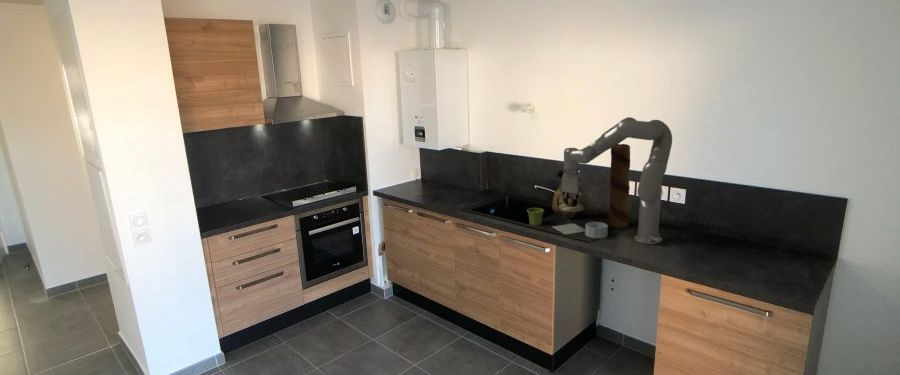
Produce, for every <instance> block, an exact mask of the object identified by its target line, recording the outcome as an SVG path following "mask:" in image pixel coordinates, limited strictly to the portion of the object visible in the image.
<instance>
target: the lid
mask: <svg viewBox="0 0 900 375" xmlns="http://www.w3.org/2000/svg"><path fill="white" fill-rule="evenodd" d="M573 199H574V198H573V197H569V198H568V205H566V204H561V205H559V209H560V210H563V211H570V212H574V211H577V212H581V211H582V210H584V205H583V204H581V203H579V204H577V205H576V206H573Z"/></svg>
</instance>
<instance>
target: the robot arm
mask: <svg viewBox="0 0 900 375" xmlns="http://www.w3.org/2000/svg"><path fill="white" fill-rule="evenodd" d="M628 138H629V139H636V140H645V141H652V145H651V148H650V149H651V150H650V153H649V156H648V160H647V162H646V163H645V164H644V166H643V168H642V170H641V175H640V179H639V182H638V186H637V196H638V197H639V207H638V208H639V209H638V223H637V224H638V225H637V235H635V236H634V237H633V240H634V241H635V242H637V243H640V244H645V245H657V244H660V243H661V242H662V241H663V240H664V238H663V237H661V236H660V233H659V227H660V213H661V204H662V203H661V201H662V193H663V186H662V183H663V180H664V175H665V174H666V171H667V167H668V162H669V158H670V154H671V150H672V145H673V134H672V131H671V129H670V127H669V126H668V125H667V123H665V122H664V121H662V120H659V119H652V120H650V121H645V120H644V121H643V120H637V119H636V118H634V117H625V118H623V119H621V120H620V121H619V122H618V123H616V124H615V125H614V126H612V127H610V128H609V129H608V130H606V131H605V132H603V133H602V134H601V135H600V137H598V138H597V139H595V140H594V141H593V142H591V143H590V144H589V145H587V146H586V147H584V148H581V149H578V148H576V147H567V148H565V149H564V150H563V172H564V174H563V176H562V178H561V185H560V186H561V189H560V192H561V193H562V194H563V195H564V198H565V203H566V205H568V198H569V193H573V197H574V199H573V206H576V205H577V198H578V199H579V198H580V197H581V196H582V195H584V191H583V185H582V176H581V170H580V168H579V166H580V164H583V165H584V164H588V163H591V161H593V160H594V159H596V158H598V157H599V156H601V155H602V154H604V153H605V152H606V151H608V150H611V148H613V147H614V146H616V145H617V144H621V142H623V141H625V140H626V139H628Z"/></svg>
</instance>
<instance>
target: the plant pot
mask: <svg viewBox="0 0 900 375" xmlns="http://www.w3.org/2000/svg"><path fill="white" fill-rule="evenodd" d="M526 211H527V213H528V219H529V225H532V226H540V225H542V221H543V214H544V211H545V209H543V208H540V207H530V208H527V209H526Z"/></svg>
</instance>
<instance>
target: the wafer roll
mask: <svg viewBox="0 0 900 375" xmlns="http://www.w3.org/2000/svg"><path fill="white" fill-rule="evenodd" d="M630 168H631V146H630V145H629V144H627V143H619V144H617V145H616V146H614V147H613V148H610V176H609V178H610V179H609V180H610V181H609V182H610V183H609V185H610V189H609V190H610V191H609V203H608V204H609V209H608V211H609V226H610V227H612V228H616V229H625V228H627V227H628V226H629V219H630V216H629V199H630Z"/></svg>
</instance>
